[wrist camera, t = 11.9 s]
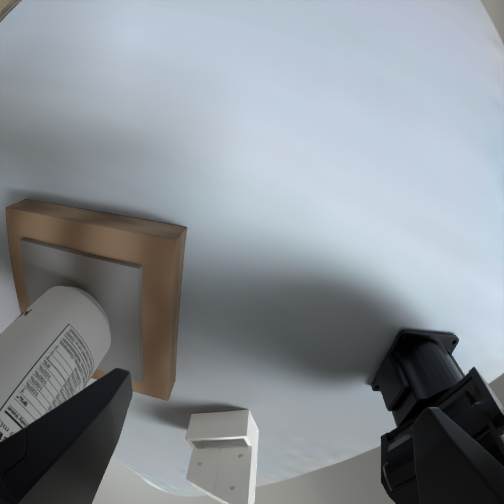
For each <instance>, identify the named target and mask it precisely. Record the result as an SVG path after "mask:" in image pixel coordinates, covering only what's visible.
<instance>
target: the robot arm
mask: <svg viewBox="0 0 504 504" xmlns="http://www.w3.org/2000/svg"><path fill="white" fill-rule="evenodd" d="M403 336H405V337H403ZM402 337H403V338H402ZM458 342H459V339H458V337H457V336H456V335H449V334H439V333H429V332H419V331H410V330H403V331H401V332H399V334H398V335H397V337H396V339H395V341H394V343H393V345H392V347H391V349H390V351H389V353H388V354H387V356H386V357H385V359H384V361H383V363H382V365H381V367H380V369H379V370H378V372H377V374H376V377H375V379H374V380H373V382H372V384H371V387H372V390H373V391H381V393H382V396H383V399H384V402H385V405H386V408H387V410H388V411H392V414H393V417H394V420H395V423H396V426H397V428H395V429H394V430H392V431H391V432H389V433H386V434H384V435H382V436H381V483H382V484H383V486H384V488H385V490H386V492H387V494H388V495H389V497H390V498H391V499H392V500H393V501H394V502H395V503H396V504H504V409H503V407H502V405H501V403H500V402H499V400H498V399H497V397H496V395H495V394H494V392H493V391H492V389H491V388H490V386H489V385H488V384H487V382H486V381H485V380H484V378H483V377H482V376H481V374H480V373H479V372H478V371H477V369H476V368H475V367H473V368H472V369H471V370H470V371H469V373H468V374H467V375H466V376H465V375H464V373H463V372H462V370H461V368H460V367H459V365H458V364H457V362H456V361H455V359H454V357H453V356H452V352H453V351H454V349H455V347H456V345H457V344H458ZM132 392H133V389H132V380H131V373H130V372H129V371H128V370H124V369H121V368H115V369H113V370H112V371H110V372H109V373H107V374H106V375H104V376H103V377H101V378H100V379H98V380H97V381H95V382H93V383H92V384H90V385H89V386H87V387H86V388H84V389H83V390H81V391H80V392H78V393H77V394H75V395H74V396H72V397H71V398H69V399H68V400H66V401H65V402H63V403H61V404H60V405H58V406H57V407H55V408H54V409H52V410H51V411H49V412H48V413H46V414H44V415H43V416H41V417H40V418H38V419H37V420H35V421H34V422H32V423H30V424H29V425H27V427H24V428H22V429H21V430H19V431H18V432H16V433H14V434H13V435H11V436H9V437H8V438H6V439H4V440H2V441H0V504H92V502H93V499H94V497H95V494H96V492H97V490H98V487H99V485H100V483H101V480H102V478H103V475H104V473H105V471H106V468H107V466H108V464H109V461H110V459H111V457H112V454H113V452H114V450H115V447H116V445H117V443H118V440H119V437H120V434H121V431H122V427H123V424H124V420H125V417H126V414H127V410H128V407H129V404H130V401H131V398H132Z"/></svg>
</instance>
